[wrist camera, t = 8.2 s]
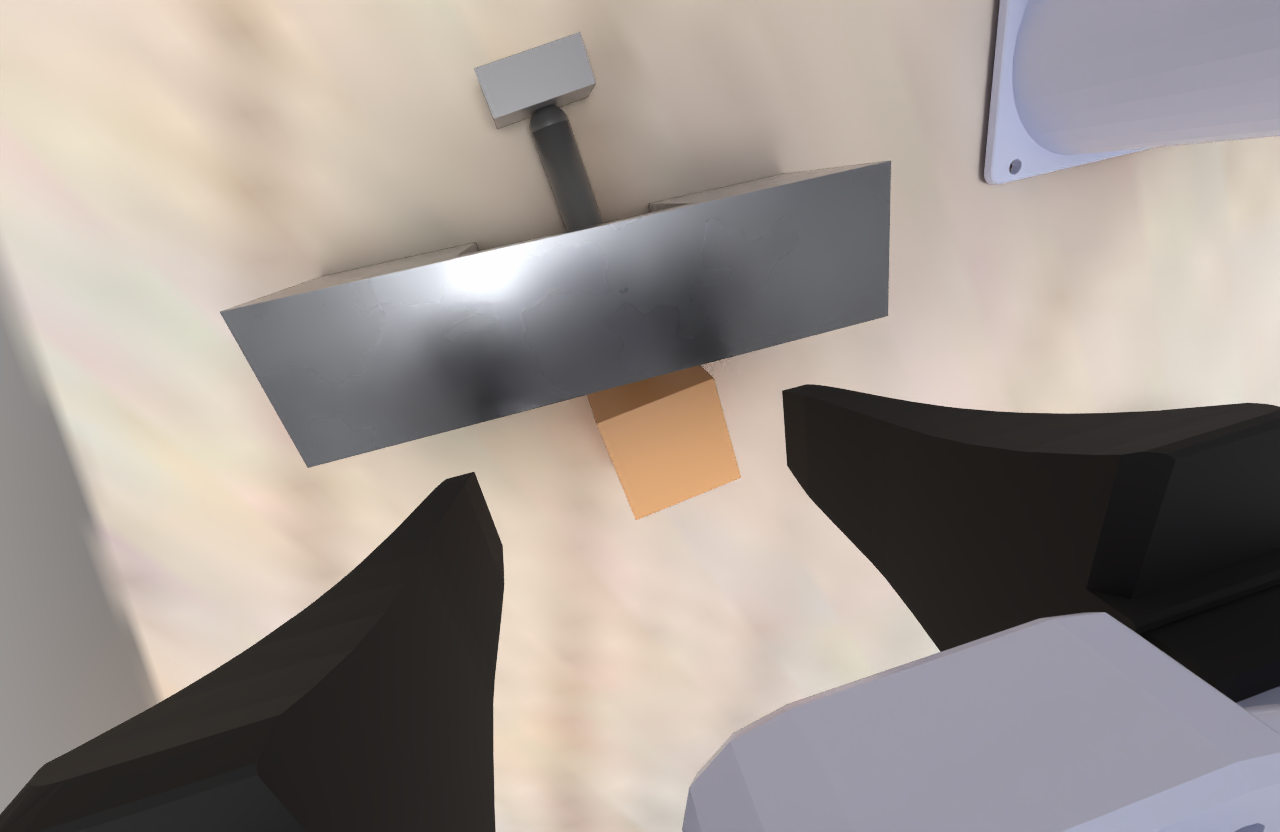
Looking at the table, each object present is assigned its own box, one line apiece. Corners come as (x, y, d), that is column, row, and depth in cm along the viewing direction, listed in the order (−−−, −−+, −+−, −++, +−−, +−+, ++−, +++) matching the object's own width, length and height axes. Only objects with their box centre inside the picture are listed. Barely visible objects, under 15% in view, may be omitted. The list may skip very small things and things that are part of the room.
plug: (589, 47, 15) (608, -3, 11) (704, 430, 21) (741, 477, 18) (464, 90, 15) (444, 54, 11) (617, 465, 21) (635, 520, 17)
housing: (783, 173, 18) (890, 160, 12) (790, 285, 19) (887, 315, 14) (320, 276, 16) (219, 311, 11) (373, 389, 18) (307, 467, 12)
